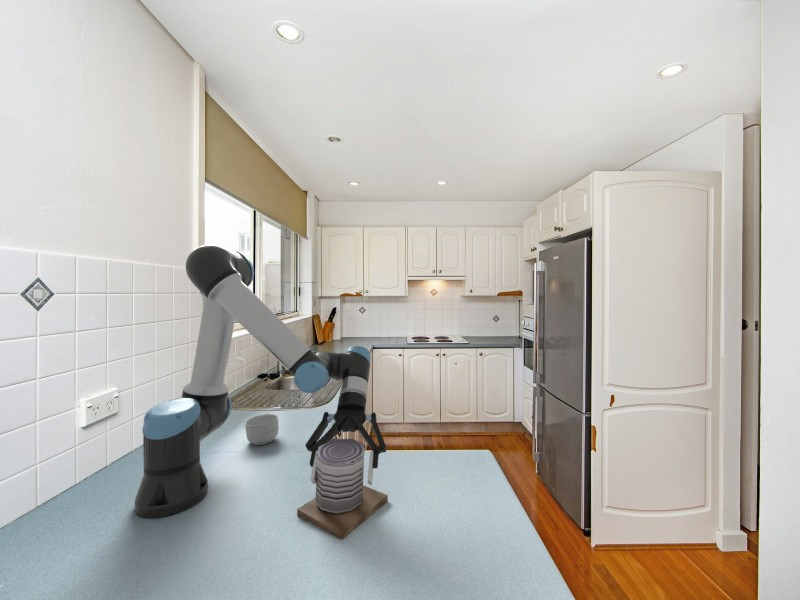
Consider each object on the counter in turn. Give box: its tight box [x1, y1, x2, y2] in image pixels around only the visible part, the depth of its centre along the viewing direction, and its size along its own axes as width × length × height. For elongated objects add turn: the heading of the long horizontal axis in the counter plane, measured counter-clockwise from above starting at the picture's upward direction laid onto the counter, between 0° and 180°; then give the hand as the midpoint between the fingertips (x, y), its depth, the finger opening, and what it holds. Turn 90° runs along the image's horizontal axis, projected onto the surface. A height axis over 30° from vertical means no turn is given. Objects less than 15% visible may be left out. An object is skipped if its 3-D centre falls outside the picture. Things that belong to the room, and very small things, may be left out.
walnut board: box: [296, 484, 389, 540], centre depth 80 cm, size 16×14×2 cm
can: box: [315, 438, 366, 514], centre depth 81 cm, size 11×11×12 cm
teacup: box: [244, 412, 279, 446], centre depth 120 cm, size 14×11×8 cm
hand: (341, 482), depth 78 cm, fingers open, 12 cm apart
